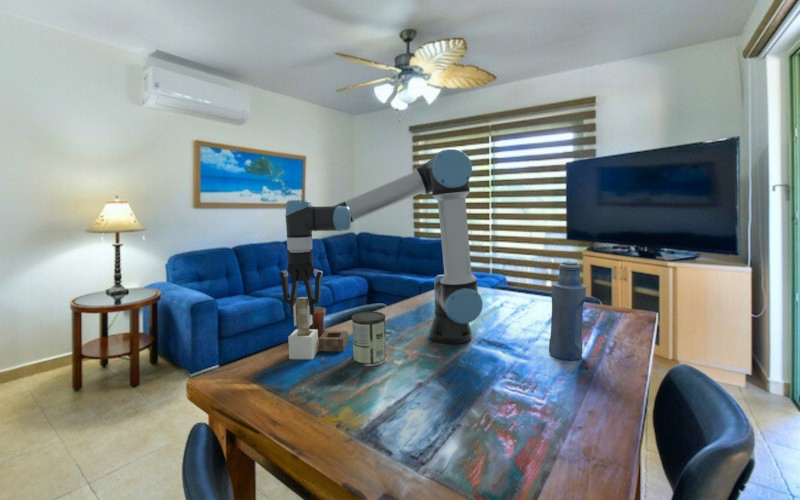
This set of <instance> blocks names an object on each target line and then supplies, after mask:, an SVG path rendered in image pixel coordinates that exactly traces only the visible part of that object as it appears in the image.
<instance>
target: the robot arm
mask: <svg viewBox="0 0 800 500" xmlns="http://www.w3.org/2000/svg"><path fill="white" fill-rule="evenodd" d="M472 173H473V164H472V161H471V159H470V158H469V156H468V155H467V154H466V153H465V152H464V151H462V150H460V149H457V148H448V149H442V150H441V151H439V152H438V153H437V154H436V155H435V156H432V158H431V159H429V160H428V161H427V162H425V163H423V164H421V165H420V166H417V167H416V168H414V169H413V170H412V172H411V173H408V174H406V175H404V176H402V177H399V178H397V179H395V180H392V181H390V182H387V183H385V184H382V185H380V186H378V187H376V188H373V189H371V190H368V191H366V192H363V193H362V194H359V195H357V196H354V197H351V198H349V199H347V200H344V201H342V202H340V203H337V204H334V205H331V206H330V205H327V206H312V202H311V201H310V200H307V199H304V200H300V199H293V200H292V199H291V200H287V202H285V215H284V216H285V224H286V225H285V226H286V248H287V251H288V252H287V268H286V269H285V270H281V271H280V272H279V273H278V275H279V278H280V280H281V281H280V282H281V287H282V288H281V289H282V298H283V303H284V304H288V305H289V307H290V309H289V310H290V315H291V316H293V326H294V327H298V326H297V304H296V298H298V297H297V296H298V289H299V283H300V282H301V281H302V282H303V284H304V288H305V292H306V295H307V296H306V297H308V305H307V323H308V326H310V325H311V324H312V315H313V314H314V313H315V307H316V306H315V305H316V304H318V303H320V301H321V299H322V298H321V297H322V296H321V293H322V277H323V274H324V271H323V270H319V269H316V267H315V266H314V252H313V232H318V231H319V232H335V231H336V232H341V231H342V232H343V231H349V230H350V229H351V228H352V227H351V226H352V224H351V223H353V222H356V221H359V220H360V219H363V218H366V217H368V216H370V215H372V214H376V213H378V212H380V211H382V210H385V209H387V208H389V207H392V206H394V205H397V204H399V203H402V202H404V201H405V200H408V199H411V198H413V197H415V196H418V195H423V196H425V195H428V194H431V193H432V197H433V198H434V199H435V200H436V201H437V207H438V215H439V228H440V229H439V230H440V238H441V240H440V241H441V250H442V263H443V271H444V272H443V274H437V275H436V276H435V277H434V281H433V282H434V283H433V285H434V316H433V320H432V322H431V326H430V329H429V337H430V339H431V340H433V341H434V342H436V343H441V344H451V345H457V344H465V343H467V342H469V341H471V339H472V336H473V335H472V334H473V333H472V329H471V325H470V323H472V322H474V321H475V320H476V319H477V318H478V317H479V316H480V315H481V313H482V311H483V307H484V306H483V298H482V297H481V294H480V293H479V291H478V290H479V289H478V279H477V277H476V276H475V275H474V274H473V273H472V264H471V250H470V241H469V239H470V238H469V227H468V218H467V216H468V215H467V203H466V198H467V196H468V195H469V194H470V193H471V192H470V190H471V189H470V178H471V177H472ZM313 275H314V277H315V279H314V290H313V287H312V280H311V277H312V276H313ZM288 276H290V277H291V291H290V285H289V284H290V283H289V277H288Z"/></svg>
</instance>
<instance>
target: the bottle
mask: <svg viewBox="0 0 800 500" xmlns="http://www.w3.org/2000/svg"><path fill="white" fill-rule="evenodd" d="M580 274H581V265H579V264H578V262H576V261H571V260H570V261H569V260H565V261H562V263H559V267H558V275H557V276H558V277H557V281H555V282H553V283H552V285H551V317H550V318H551V323H550V338H549V341H548V352H549V354H550V356H552V357H554V358H557V359H558V360H564V361H577V360H580V359H582V357H583V336H582V335H583V334H582V333H583V318H584V316H583V314H584V304H585V301H586V294H587V293H586V292H587V286H586V285H585V284H582V283H581V275H580Z"/></svg>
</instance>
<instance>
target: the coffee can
mask: <svg viewBox="0 0 800 500" xmlns="http://www.w3.org/2000/svg"><path fill="white" fill-rule="evenodd" d="M351 321H352V322H351V323H352V347H353V348H352V350H353V352H352V354H353V360H354V361H356V362H358V363H362V364H363V367H375V366H376V367H377V366H380V365H382V364H383V363H385V362H386V360H387V357H386V355H387V354H386V352H387V351H386V350H387V348H386V314H384V313H383V312H380V311H362V312H357V313H354V314H353V315H352V316H351Z"/></svg>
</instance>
